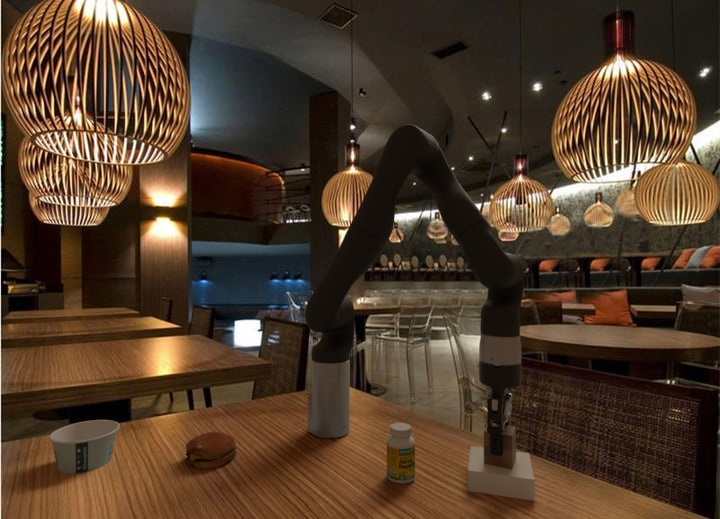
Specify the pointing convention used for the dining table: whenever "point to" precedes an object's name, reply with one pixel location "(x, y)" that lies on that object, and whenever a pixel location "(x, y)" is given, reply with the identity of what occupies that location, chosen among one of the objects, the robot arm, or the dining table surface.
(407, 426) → the supplement bottle
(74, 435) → the food container
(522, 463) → the riser block
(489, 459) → the walnut block
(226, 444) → the burger
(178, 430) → the dining table surface
